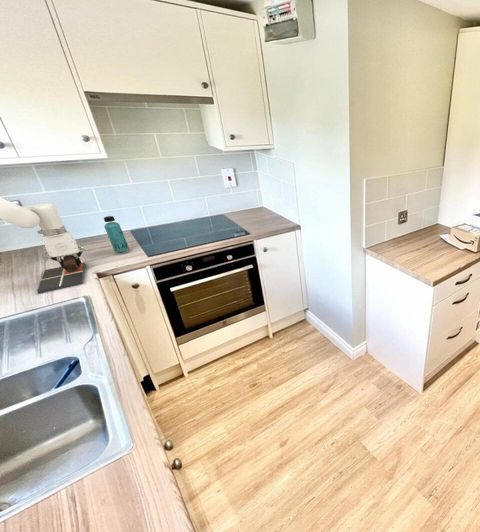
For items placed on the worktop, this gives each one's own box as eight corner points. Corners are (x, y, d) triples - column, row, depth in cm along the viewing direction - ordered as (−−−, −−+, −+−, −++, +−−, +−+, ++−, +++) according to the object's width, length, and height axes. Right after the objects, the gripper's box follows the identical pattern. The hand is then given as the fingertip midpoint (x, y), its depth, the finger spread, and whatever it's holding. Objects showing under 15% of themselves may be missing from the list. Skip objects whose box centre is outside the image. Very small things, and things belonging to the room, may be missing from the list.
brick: (67, 264, 155) (62, 256, 153) (78, 262, 157) (74, 253, 155) (66, 272, 148) (62, 263, 146) (78, 270, 150) (73, 261, 148)
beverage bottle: (115, 255, 169) (100, 219, 160) (114, 251, 174) (99, 216, 165) (131, 252, 173) (116, 217, 164) (129, 248, 178) (115, 214, 168)
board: (38, 293, 136) (36, 291, 135) (46, 272, 152) (44, 269, 152) (82, 283, 144) (81, 281, 143) (85, 264, 160) (84, 262, 160)
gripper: (26, 237, 137) (47, 274, 146) (79, 229, 147) (95, 265, 155) (29, 232, 143) (49, 268, 151) (80, 225, 152) (96, 259, 160)
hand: (72, 266), depth 153 cm, fingers closed on brick, 4 cm apart
